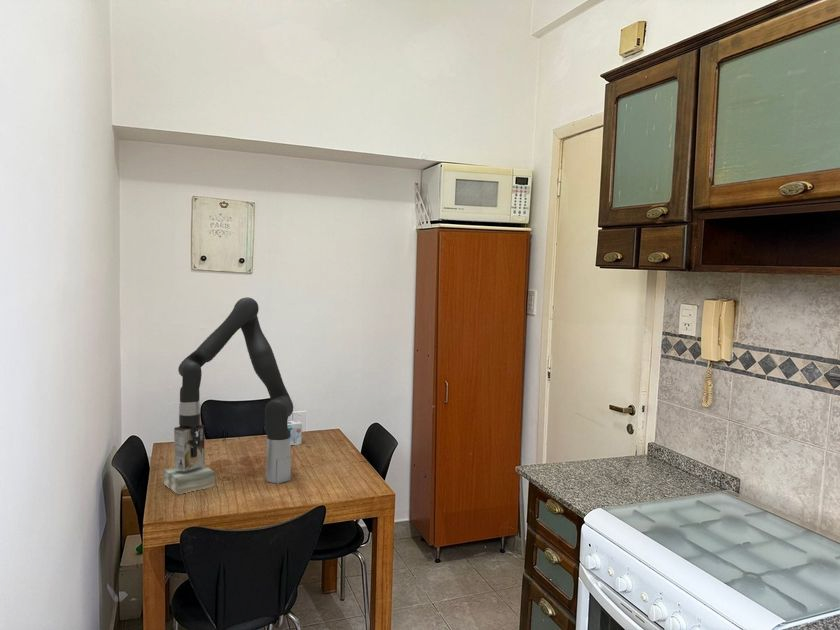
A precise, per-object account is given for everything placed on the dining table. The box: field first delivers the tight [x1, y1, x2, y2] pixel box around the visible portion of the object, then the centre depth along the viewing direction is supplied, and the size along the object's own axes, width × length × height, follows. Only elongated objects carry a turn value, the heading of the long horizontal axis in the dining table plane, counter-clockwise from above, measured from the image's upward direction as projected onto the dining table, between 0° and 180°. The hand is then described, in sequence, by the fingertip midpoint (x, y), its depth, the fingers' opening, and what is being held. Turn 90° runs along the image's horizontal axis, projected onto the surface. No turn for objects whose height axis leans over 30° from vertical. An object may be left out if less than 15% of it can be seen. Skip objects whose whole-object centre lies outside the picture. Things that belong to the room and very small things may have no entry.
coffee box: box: [173, 423, 206, 471], centre depth 225 cm, size 9×6×16 cm
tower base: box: [163, 465, 216, 495], centre depth 226 cm, size 14×14×6 cm
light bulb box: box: [287, 419, 303, 447], centre depth 286 cm, size 11×7×11 cm, turn 118°
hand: (189, 454), depth 226 cm, fingers closed on coffee box, 7 cm apart
